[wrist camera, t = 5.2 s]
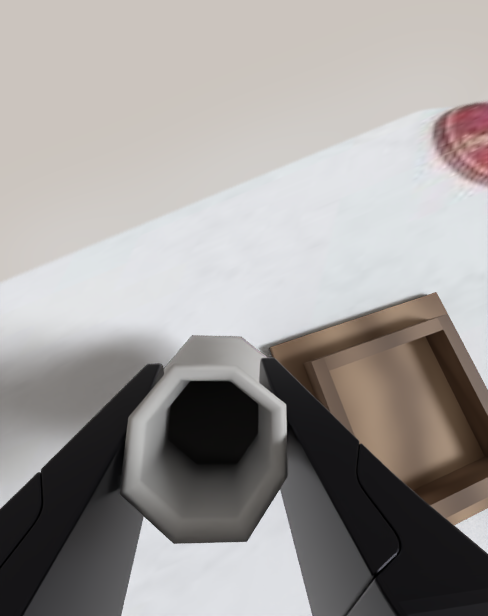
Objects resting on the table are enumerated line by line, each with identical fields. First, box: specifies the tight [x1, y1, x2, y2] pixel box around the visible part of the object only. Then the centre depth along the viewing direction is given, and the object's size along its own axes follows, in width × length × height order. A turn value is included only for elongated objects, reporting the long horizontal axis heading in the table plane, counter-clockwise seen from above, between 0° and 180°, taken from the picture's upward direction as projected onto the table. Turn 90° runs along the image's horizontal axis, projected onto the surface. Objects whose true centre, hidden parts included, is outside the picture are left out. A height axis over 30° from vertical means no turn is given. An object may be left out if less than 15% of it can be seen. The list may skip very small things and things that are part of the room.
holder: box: [269, 292, 488, 525], centre depth 20 cm, size 16×16×3 cm
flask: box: [119, 335, 288, 544], centre depth 10 cm, size 7×7×10 cm
